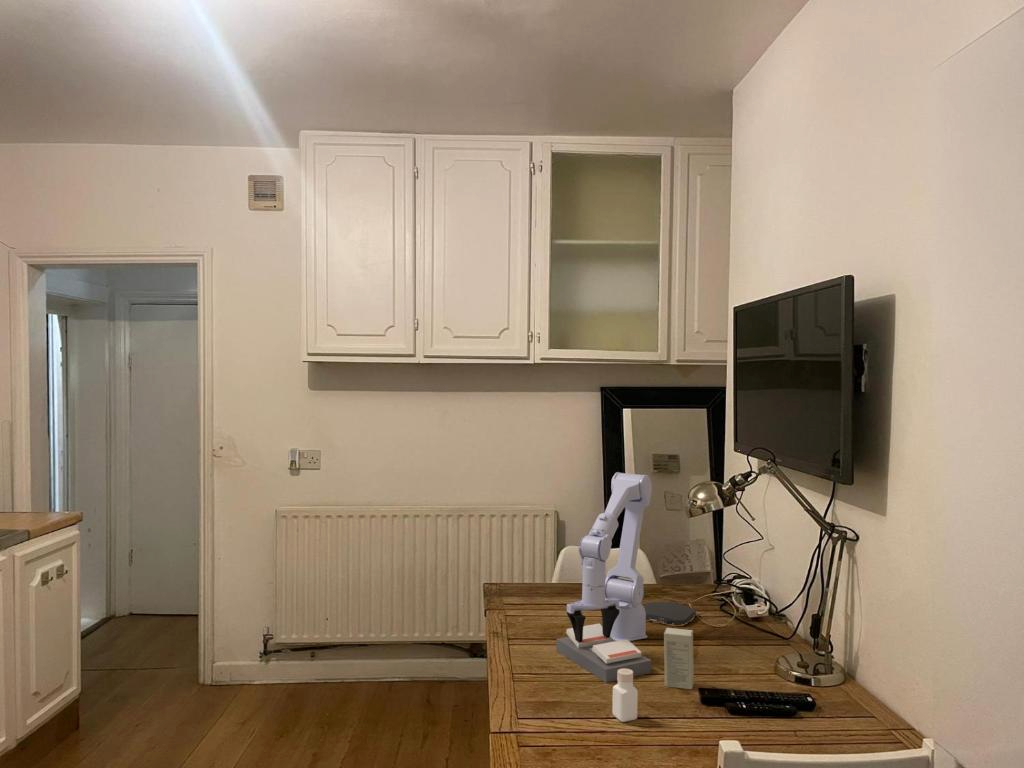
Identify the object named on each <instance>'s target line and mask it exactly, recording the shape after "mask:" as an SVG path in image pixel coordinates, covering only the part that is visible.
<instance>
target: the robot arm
mask: <svg viewBox="0 0 1024 768" xmlns="http://www.w3.org/2000/svg"><path fill="white" fill-rule="evenodd" d="M610 488H611V495H610V497H609V500H608V503H607V506H606V508H605V510H604V512H603V513H602V512H601V513H599V515H597V518H596V520H595V521H594V524H593V525H592V526H591V527H592V528H591V529H590V530H589V533H588V534H587V535H585V536H583V537H581V540H579V541H580V542H579V546H578V554H579V558H580V564H581V565H582V581H581V583H582V585H581V588H582V589H581V592H582V593H581V600H577V601H574V602H571V603H567V604H566V615H567V617H568V619H569V621H570V623H571V628H573V630H574V635H575V640H576V641H578V642H582V639H583V626H585V620H586V618H587V617H586V616H585V615H583V613H582V612H587V611H594V610H600V612H601V618H602V619H601V621H602V627H603V628H602V631H603V635H604V636H605V637H607V638H610V636H611V637H612V639H613V640H615V641H619V640H625V639H627V640H628V641H630V642H633V641H638V640H642V639H647V638H648V635H647V634H646V630H647V629H646V628H647V627H646V623H647V621H646V612H645V609H644V606H643V605H644V604H642V601H643V599H644V594H645V593H644V591H645V590H644V577H643V576H642V574H640V573H641V572H639V571H638V570H637V569H636V564H637V557H638V551H639V546H640V545H639V544H640V538H641V537H640V536H641V531H642V524H643V519H644V510H645V509H646V508H647V507H649V506H650V503H651V499H652V498H651V497H652V491H653V483H652V479H651V478H650V476H649V475H648V474H638V473H637V474H636V473H635V474H634V473H627V472H626V473H624V472H619V471H617V472H615V473H614V475H613V476H612V478H611V485H610ZM624 509H625V512H624V517H623V525H622V531H621V537H620V543H619V550H618V556H617V562H616V563H617V564H616V566H614V567H612V568H611V569H609V570H608V571H607V567H606V566H607V565H606V564H607V562H606V561H607V560H608V559H609V557H610V554H611V551H612V550H611V549H612V545H613V543H612V542H613V541H612V540H613V538H614V535H615V533H616V531H617V529H618V528H619V522H618V518H619V516H620V514H621V513H622V512H623V510H624ZM606 571H607V573H606ZM623 578H624V579H623ZM629 579H630V580H629Z"/></svg>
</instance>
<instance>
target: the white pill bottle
mask: <svg viewBox="0 0 1024 768" xmlns="http://www.w3.org/2000/svg"><path fill="white" fill-rule="evenodd" d="M616 681H617V683H616V684H615V685H614V686H612V716H614V717H615V718H616V719H617V720H619V722H622V723H623V722H625V723H626V722H630V721H634V720H637V719H638V696H639V695H638V689H637V688H636V687H635V685H634V684H633V683H634V677H633V671H632V670H630V669H619V670H618V671H617V680H616Z"/></svg>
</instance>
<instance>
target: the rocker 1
mask: <svg viewBox="0 0 1024 768" xmlns="http://www.w3.org/2000/svg"><path fill="white" fill-rule="evenodd" d="M602 628H603V625H602V624H601V623H594V624H589V625H587V624H586V625H584V626H583V639H582V642H578V641H576V640H575V635H574V630H573V627H570V628H566V632H565V634H566V635H567V637H570V639H571V640H572V641H573V642H574V644H575V645H576V646H577V647H578V648H581V647H586V646H592V645H597V644H602V643H608V642H611V641H612V637H611V636H610V638H607V637H605V636H604V635H603V631H602Z"/></svg>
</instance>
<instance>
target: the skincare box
mask: <svg viewBox="0 0 1024 768" xmlns="http://www.w3.org/2000/svg"><path fill="white" fill-rule="evenodd" d="M663 648H664V649H663V650H664V651H663V653H664V654H663V656H664V659H663V660H664V686H665V687H670V688H678V689H685V690H693V688H694V684H695V683H694V630H692V629H686V628H685V629H684V628H683V629H682V628H677V627H666V628H665V630H664V632H663Z"/></svg>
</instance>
